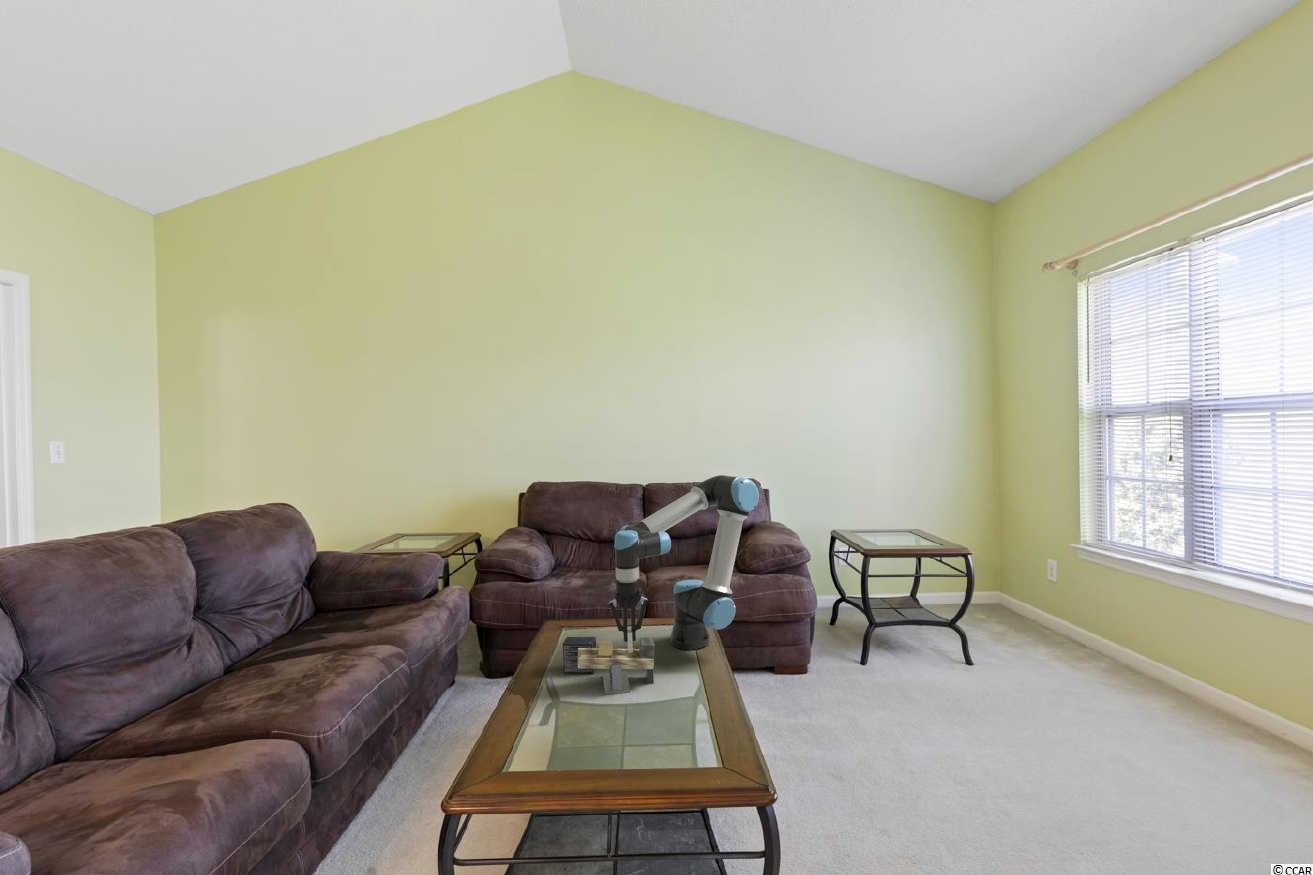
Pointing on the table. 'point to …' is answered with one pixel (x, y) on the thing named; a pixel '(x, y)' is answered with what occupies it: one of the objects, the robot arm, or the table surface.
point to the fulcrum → (621, 680)
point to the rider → (604, 649)
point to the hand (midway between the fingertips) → (630, 650)
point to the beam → (620, 657)
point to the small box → (576, 654)
